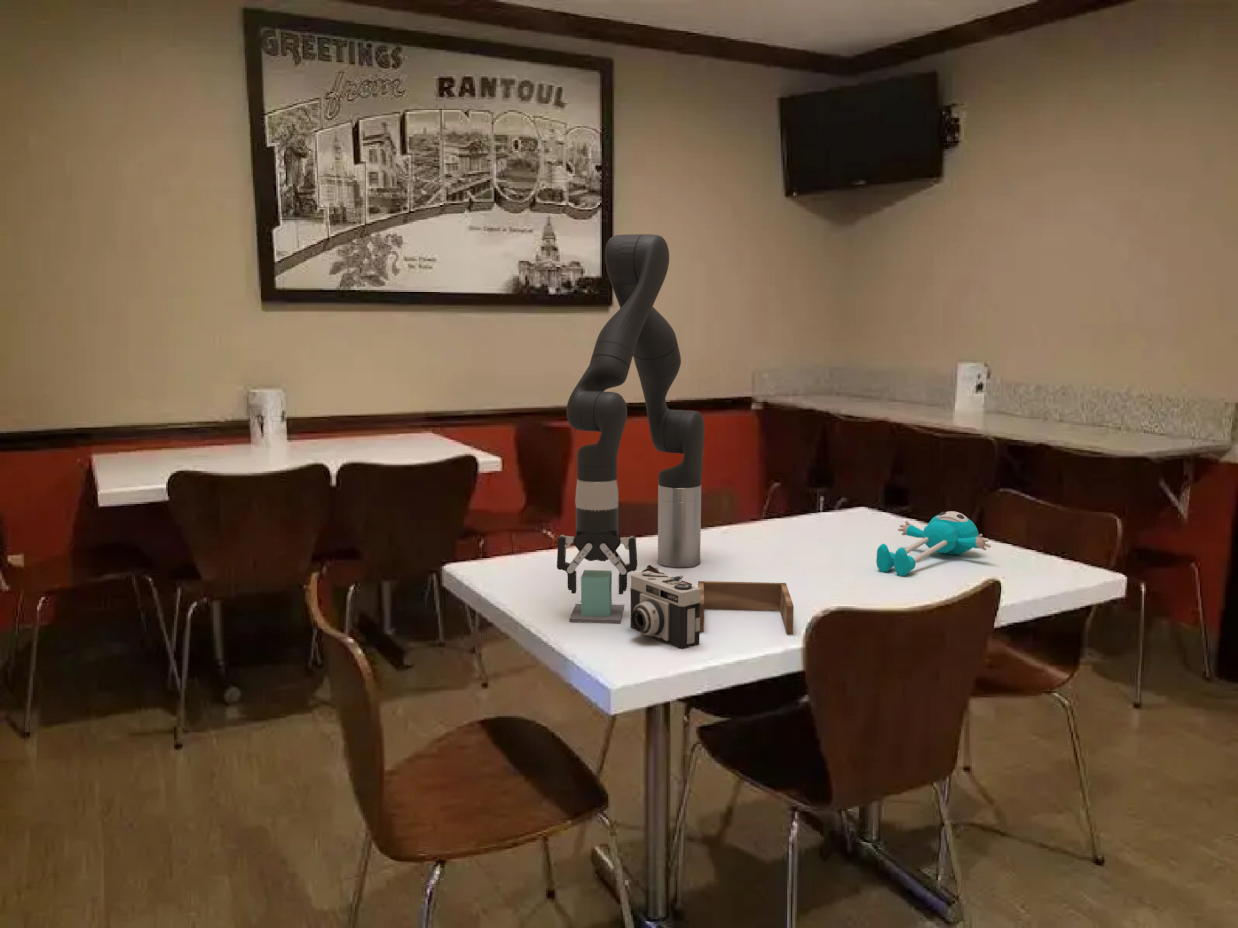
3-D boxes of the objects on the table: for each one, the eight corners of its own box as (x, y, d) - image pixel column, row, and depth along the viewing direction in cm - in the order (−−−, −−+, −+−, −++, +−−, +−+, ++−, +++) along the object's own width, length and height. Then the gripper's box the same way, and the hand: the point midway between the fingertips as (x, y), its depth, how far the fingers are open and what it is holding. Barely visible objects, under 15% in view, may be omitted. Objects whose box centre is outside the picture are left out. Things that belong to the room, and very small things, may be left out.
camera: (611, 631, 166) (611, 574, 164) (648, 622, 171) (649, 567, 169) (663, 654, 155) (663, 594, 153) (701, 644, 160) (702, 585, 158)
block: (584, 607, 177) (584, 570, 176) (611, 607, 177) (611, 570, 176) (581, 615, 172) (581, 577, 171) (609, 616, 172) (609, 578, 171)
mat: (575, 606, 179) (575, 603, 179) (624, 608, 179) (624, 604, 179) (569, 622, 170) (569, 618, 170) (620, 623, 170) (620, 620, 170)
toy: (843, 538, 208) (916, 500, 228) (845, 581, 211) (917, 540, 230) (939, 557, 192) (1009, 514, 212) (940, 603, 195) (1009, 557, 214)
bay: (697, 607, 179) (698, 581, 178) (785, 609, 178) (785, 583, 177) (697, 631, 165) (698, 603, 165) (792, 634, 164) (793, 605, 163)
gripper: (638, 500, 175) (638, 588, 177) (560, 499, 176) (560, 586, 178) (636, 509, 167) (635, 600, 170) (554, 507, 168) (554, 598, 171)
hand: (597, 592), depth 174 cm, fingers open, 8 cm apart
